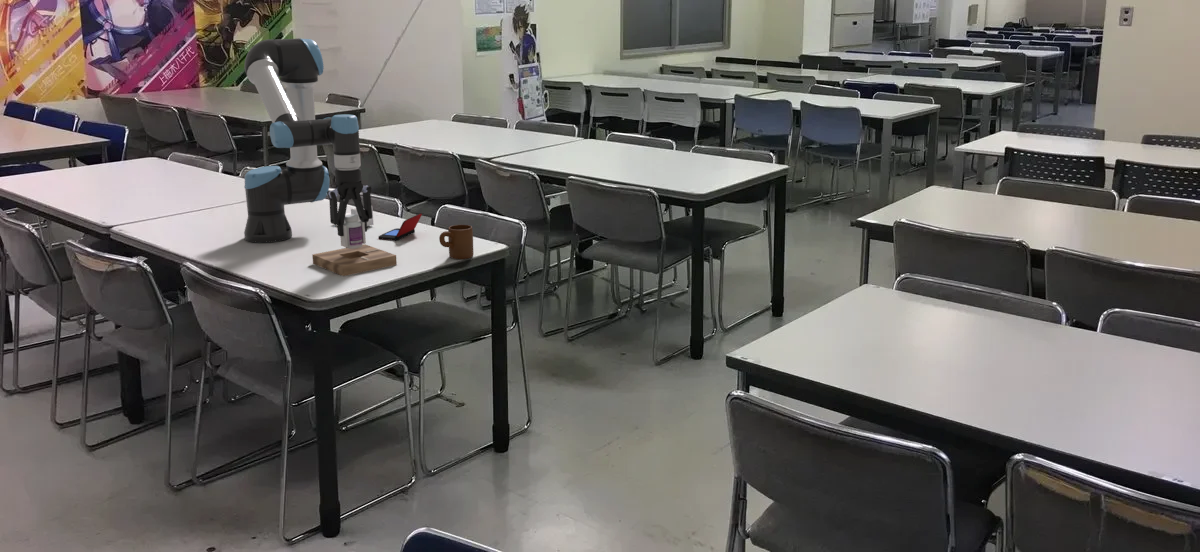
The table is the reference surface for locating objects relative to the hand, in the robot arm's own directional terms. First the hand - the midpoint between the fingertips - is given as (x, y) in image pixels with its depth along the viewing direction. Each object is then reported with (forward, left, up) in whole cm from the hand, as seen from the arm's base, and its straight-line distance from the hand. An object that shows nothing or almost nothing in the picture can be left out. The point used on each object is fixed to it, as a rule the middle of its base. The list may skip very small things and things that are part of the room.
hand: (353, 244), depth 291 cm
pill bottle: (0, 0, -1) cm, 1 cm away
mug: (+15, +27, -6) cm, 31 cm away
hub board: (0, 0, -6) cm, 6 cm away
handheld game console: (-21, +30, -7) cm, 37 cm away
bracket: (-45, +26, -7) cm, 53 cm away
